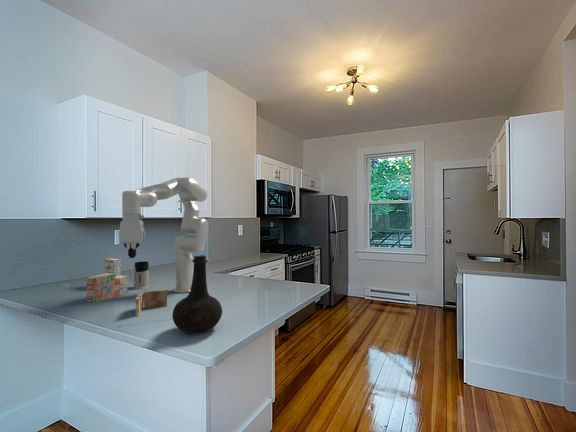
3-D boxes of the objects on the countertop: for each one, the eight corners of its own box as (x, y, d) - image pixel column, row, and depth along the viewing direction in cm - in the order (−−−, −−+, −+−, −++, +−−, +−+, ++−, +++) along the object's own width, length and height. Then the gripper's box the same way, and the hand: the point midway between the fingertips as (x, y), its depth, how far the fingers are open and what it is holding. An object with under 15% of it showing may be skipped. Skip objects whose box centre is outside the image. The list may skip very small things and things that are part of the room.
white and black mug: (152, 286, 187) (152, 261, 187) (136, 291, 173) (136, 265, 173) (140, 285, 189) (140, 261, 189) (122, 290, 175) (123, 264, 175)
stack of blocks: (117, 291, 173) (118, 270, 173) (127, 292, 172) (128, 270, 172) (86, 302, 152) (86, 277, 152) (97, 302, 151) (97, 277, 151)
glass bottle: (161, 334, 111) (162, 257, 111) (193, 319, 128) (194, 252, 128) (202, 342, 105) (203, 260, 105) (230, 325, 122) (231, 254, 122)
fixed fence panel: (166, 305, 145) (167, 289, 145) (167, 306, 143) (167, 290, 144) (138, 308, 140) (139, 292, 140) (138, 310, 138) (139, 292, 138)
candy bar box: (103, 285, 187) (103, 258, 187) (111, 284, 191) (112, 258, 191) (113, 288, 181) (113, 260, 181) (121, 286, 185) (121, 259, 185)
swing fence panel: (138, 309, 138) (139, 292, 138) (142, 308, 139) (142, 292, 139) (134, 316, 128) (135, 298, 128) (139, 316, 129) (139, 298, 129)
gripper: (151, 217, 146) (151, 256, 147) (116, 217, 143) (117, 256, 144) (147, 218, 139) (147, 258, 139) (110, 218, 136) (111, 259, 136)
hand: (132, 257), depth 141 cm, fingers closed
